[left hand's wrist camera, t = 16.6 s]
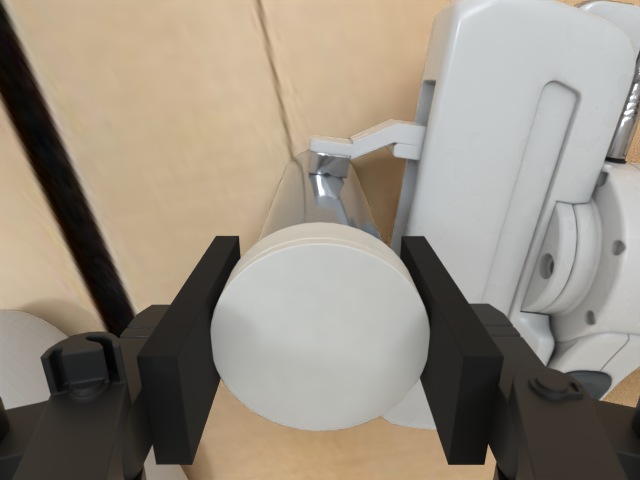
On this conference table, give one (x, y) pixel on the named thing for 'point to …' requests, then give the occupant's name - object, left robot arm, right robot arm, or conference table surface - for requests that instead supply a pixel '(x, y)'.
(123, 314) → the conference table surface
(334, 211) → the blue-grey bottle
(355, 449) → the conference table surface
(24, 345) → the projector
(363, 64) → the conference table surface
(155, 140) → the conference table surface
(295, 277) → the lid
